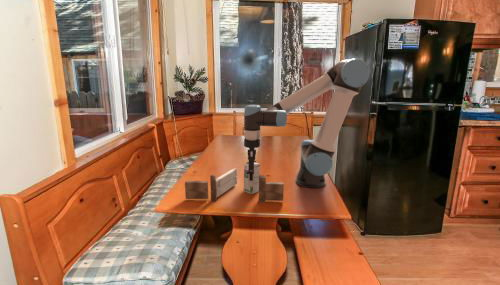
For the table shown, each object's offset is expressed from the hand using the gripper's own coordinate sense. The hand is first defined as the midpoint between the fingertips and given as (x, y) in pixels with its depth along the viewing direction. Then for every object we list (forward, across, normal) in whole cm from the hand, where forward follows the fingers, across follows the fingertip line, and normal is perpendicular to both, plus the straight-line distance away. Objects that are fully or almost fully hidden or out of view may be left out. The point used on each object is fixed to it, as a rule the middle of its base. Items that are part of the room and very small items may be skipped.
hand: (251, 180), depth 141 cm
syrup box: (+6, 0, 0) cm, 6 cm away
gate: (+4, +1, -12) cm, 13 cm away
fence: (+5, +11, -7) cm, 14 cm away
